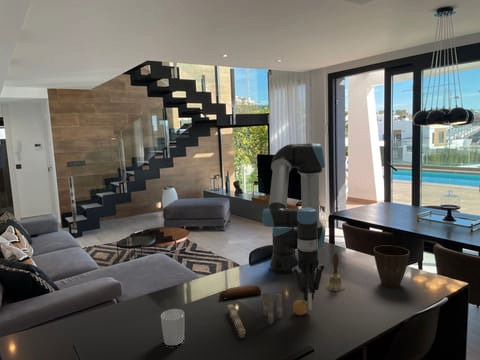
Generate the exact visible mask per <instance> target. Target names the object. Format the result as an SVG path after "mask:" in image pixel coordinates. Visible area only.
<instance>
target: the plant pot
mask: <svg viewBox="0 0 480 360" xmlns="http://www.w3.org/2000/svg"><path fill="white" fill-rule="evenodd" d="M410 254H411V253H410V250H409V249H407V248H405V247H403V246H402V247H401V246H397V245H378V246H375V247H374V248H373V256H374V260H375V266H376V270H377V273H378V277H379V280H380V282H381V284H382V286H384V287H387V288H392V289H393V288H394V289H395V288H398V287H400V286H401V284H402V281H403V279H404V276H405V273H406V271H407V267H408V263H409V258H410Z"/></svg>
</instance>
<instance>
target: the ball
mask: <svg viewBox="0 0 480 360" xmlns="http://www.w3.org/2000/svg"><path fill="white" fill-rule="evenodd" d="M292 310H293V312H294V313H295V314H296V315H298V316H304V314H306V313H307V311H308V309H307V305H306V303H305V300H303V299H302V300H301V299H299V300H296V301H294V302H293V304H292Z"/></svg>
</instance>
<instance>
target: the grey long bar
mask: <svg viewBox="0 0 480 360" xmlns="http://www.w3.org/2000/svg"><path fill="white" fill-rule="evenodd" d="M228 310H229V312H230V315H231V317H232V319H233V321H234V324H235V326H236V328H237V330H238V332H239V334H240V335H242V334H246V333H247V332H246V329H245V326H244V324H243V322H242V320H241V318H240V316H239V314H238V312H237V310H236V308H235V306H234V304H227V311H228ZM230 315H229V316H230ZM231 317H230V318H231ZM234 324H233V325H234ZM235 326H234V327H235Z"/></svg>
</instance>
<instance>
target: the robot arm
mask: <svg viewBox="0 0 480 360" xmlns="http://www.w3.org/2000/svg"><path fill="white" fill-rule="evenodd" d="M324 157H325V156H324V149H323V146H322V144H321V143H311V142H310V143H309V142H308V143H295V144H294V143H291V144H290V143H289V144H286V145H284V146H282V147H281V148H280V149H278V150H277V152H275V154H274V156H273V157H272V161H271V163H270V164H271V166H270V169H271V171H272V175H271V181H270V182H271V183H270V192H269V199H268V200H269V201H268V207H267V208H263V210H262V213H261V216H262V217H261V219H262V221H261V222H262V225H263V227H269V228H272V230H271V231H272V233H271V237H272V256H271V259H270V262H269V269H270V271H273V272H275V273H279V274H290V273H291V274H292V273H293V274H294V278H295V282H296V285H297V289H298V291H299V292H301V293H302V300H303V301H304V302H305V303H306V305H307V311H308V310H309V311H310V310H313V301H314V299H315V297H314V295H315V293H316V291H318V290H319V288H320V284H321V279H322V275H323V274H322V273H323V271H324V269H325V265H323V264H322V263H320V262H319V251H318V250H322V249H323V248H324V246H325V238H326V227H325V226H323V223H322V221H321V220H320V174H321V173H323V169H324V168H325V167H326V163H325V158H324ZM292 169H297V173H298V174H299V175H300V188H301V190H300V191H301V193H300V195H301V198H300V199H301V208H287V207H288V206H287V205H288V189H289V179H290V178H289V176H290V172H291V170H292ZM296 250H297V254H296ZM299 272H301V275H300V273H299ZM301 279H302V280H301Z"/></svg>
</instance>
